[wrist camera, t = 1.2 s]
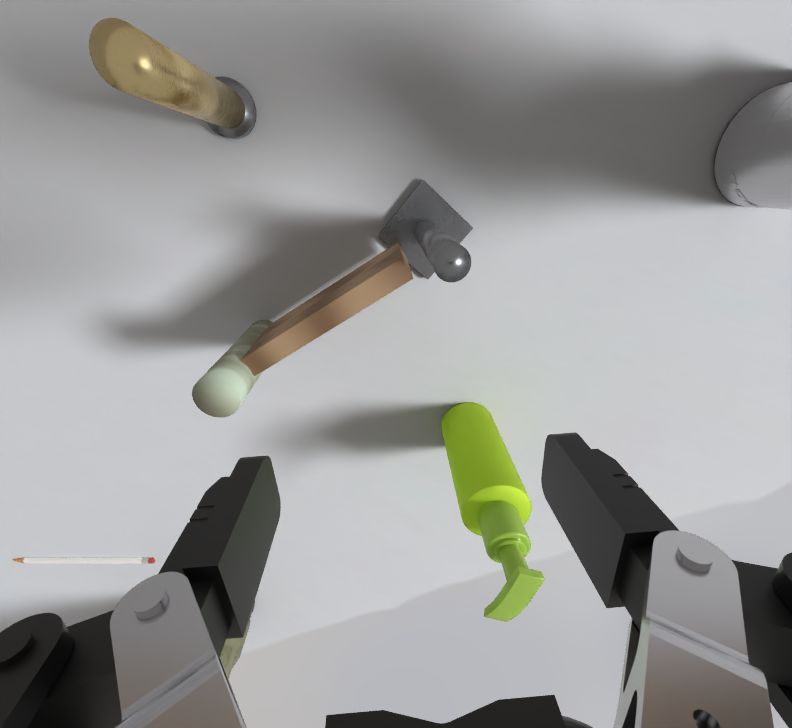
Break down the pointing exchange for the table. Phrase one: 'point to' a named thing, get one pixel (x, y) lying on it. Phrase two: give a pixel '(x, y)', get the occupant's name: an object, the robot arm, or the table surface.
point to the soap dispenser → (491, 502)
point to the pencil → (85, 560)
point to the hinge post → (430, 235)
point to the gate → (296, 331)
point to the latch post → (169, 78)
